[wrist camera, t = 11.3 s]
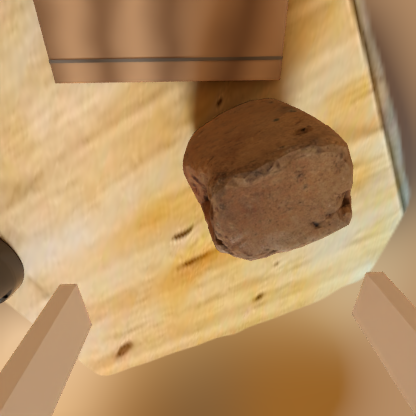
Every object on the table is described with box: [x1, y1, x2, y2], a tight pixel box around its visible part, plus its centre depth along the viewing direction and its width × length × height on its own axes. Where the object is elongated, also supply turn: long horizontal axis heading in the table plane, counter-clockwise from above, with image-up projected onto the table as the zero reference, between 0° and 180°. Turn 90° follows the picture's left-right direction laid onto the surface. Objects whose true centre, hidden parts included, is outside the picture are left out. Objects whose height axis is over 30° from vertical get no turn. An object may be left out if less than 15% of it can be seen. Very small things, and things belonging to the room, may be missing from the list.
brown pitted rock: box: [183, 98, 353, 261], centre depth 23 cm, size 11×8×20 cm
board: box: [33, 0, 288, 83], centre depth 25 cm, size 24×10×2 cm, turn 91°
